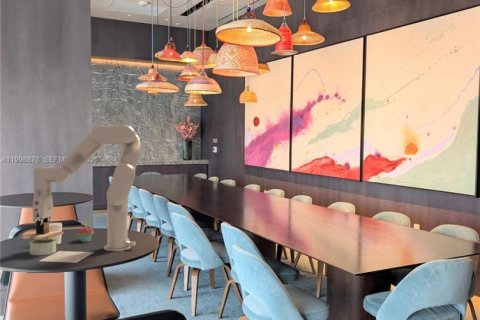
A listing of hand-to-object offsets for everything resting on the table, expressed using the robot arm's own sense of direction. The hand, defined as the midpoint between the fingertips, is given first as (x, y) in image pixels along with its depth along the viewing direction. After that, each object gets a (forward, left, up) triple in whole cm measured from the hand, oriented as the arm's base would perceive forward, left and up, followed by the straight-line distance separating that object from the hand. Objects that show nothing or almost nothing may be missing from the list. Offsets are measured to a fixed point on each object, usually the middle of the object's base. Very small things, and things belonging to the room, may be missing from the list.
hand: (42, 232), depth 194 cm
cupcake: (-8, -26, -10) cm, 29 cm away
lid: (0, 0, -2) cm, 2 cm away
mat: (-15, +6, -10) cm, 19 cm away
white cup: (+5, -18, -10) cm, 21 cm away
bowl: (0, 0, -10) cm, 10 cm away
